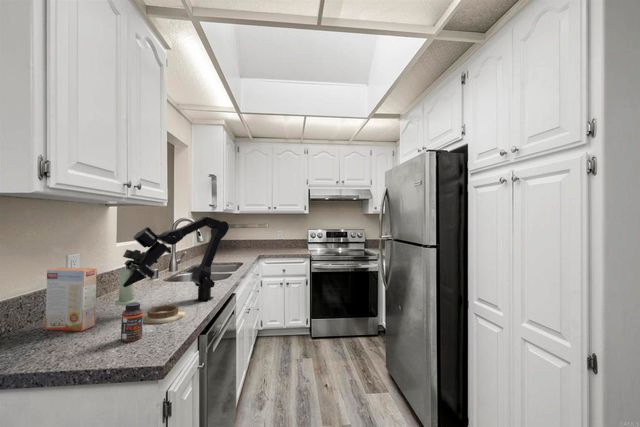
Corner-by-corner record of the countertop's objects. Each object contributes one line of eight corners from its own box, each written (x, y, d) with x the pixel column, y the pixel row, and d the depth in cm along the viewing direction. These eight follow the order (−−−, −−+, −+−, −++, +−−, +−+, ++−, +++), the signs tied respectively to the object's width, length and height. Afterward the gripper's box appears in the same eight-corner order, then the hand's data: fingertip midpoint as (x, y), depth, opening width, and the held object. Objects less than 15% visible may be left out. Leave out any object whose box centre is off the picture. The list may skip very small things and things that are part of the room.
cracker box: (96, 325, 106) (97, 267, 107) (81, 332, 100) (82, 270, 101) (61, 324, 108) (62, 266, 108) (44, 330, 102) (46, 269, 102)
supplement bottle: (124, 344, 91) (125, 307, 91) (117, 339, 95) (118, 304, 95) (145, 338, 96) (146, 303, 96) (138, 333, 99) (138, 300, 100)
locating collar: (158, 309, 126) (158, 302, 126) (193, 311, 123) (193, 304, 124) (129, 322, 110) (129, 314, 110) (168, 325, 108) (169, 317, 108)
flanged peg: (124, 300, 121) (125, 268, 121) (140, 300, 120) (140, 268, 120) (110, 305, 114) (111, 271, 114) (126, 305, 113) (127, 271, 113)
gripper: (130, 240, 126) (98, 270, 118) (146, 243, 114) (111, 276, 105) (149, 257, 132) (120, 286, 123) (167, 261, 120) (136, 294, 111)
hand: (121, 285), depth 116 cm, fingers closed on flanged peg, 5 cm apart
